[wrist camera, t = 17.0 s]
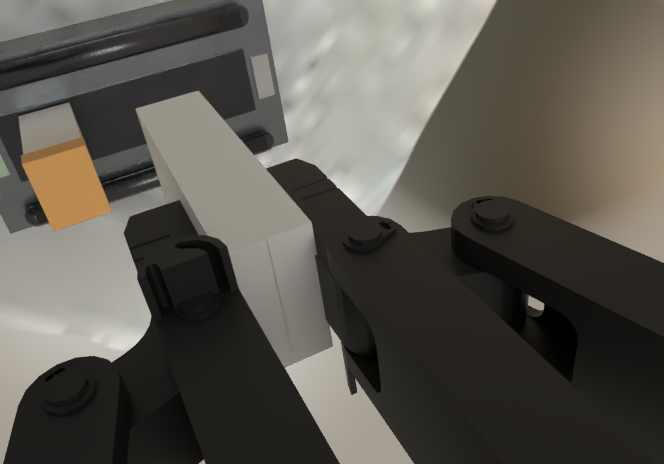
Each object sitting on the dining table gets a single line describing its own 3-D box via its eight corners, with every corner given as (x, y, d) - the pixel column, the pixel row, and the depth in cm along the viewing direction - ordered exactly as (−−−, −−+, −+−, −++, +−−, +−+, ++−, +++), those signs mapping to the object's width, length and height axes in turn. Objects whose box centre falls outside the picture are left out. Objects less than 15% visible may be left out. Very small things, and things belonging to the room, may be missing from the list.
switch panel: (9, 212, 43) (11, 244, 40) (-70, 59, 37) (-75, 81, 33) (274, 127, 49) (295, 149, 46) (245, -18, 43) (268, -5, 39)
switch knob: (43, 175, 40) (53, 231, 34) (15, 115, 37) (21, 164, 32) (93, 159, 41) (111, 211, 35) (70, 100, 38) (85, 145, 32)
